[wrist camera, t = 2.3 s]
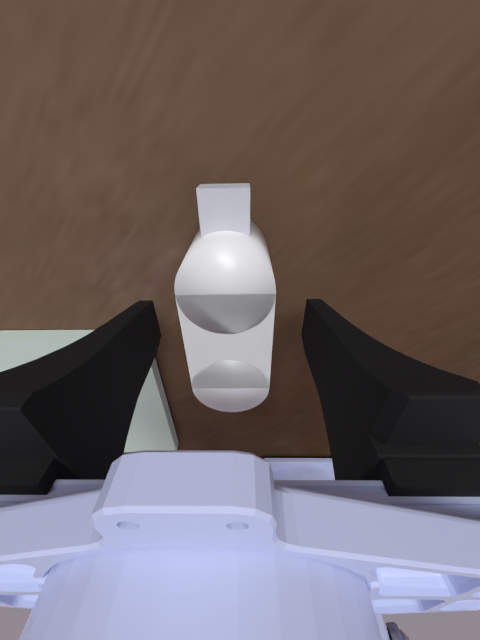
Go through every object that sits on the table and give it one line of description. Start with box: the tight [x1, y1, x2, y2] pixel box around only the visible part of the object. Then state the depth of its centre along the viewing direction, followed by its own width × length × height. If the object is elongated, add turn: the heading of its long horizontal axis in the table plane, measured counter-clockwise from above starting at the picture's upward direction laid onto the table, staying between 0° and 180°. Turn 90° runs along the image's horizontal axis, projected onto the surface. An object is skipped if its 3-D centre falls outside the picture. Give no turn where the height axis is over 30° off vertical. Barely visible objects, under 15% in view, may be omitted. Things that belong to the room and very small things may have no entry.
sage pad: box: [0, 330, 179, 452], centre depth 18 cm, size 12×10×1 cm
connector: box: [174, 183, 276, 412], centre depth 12 cm, size 10×4×4 cm, turn 1°
